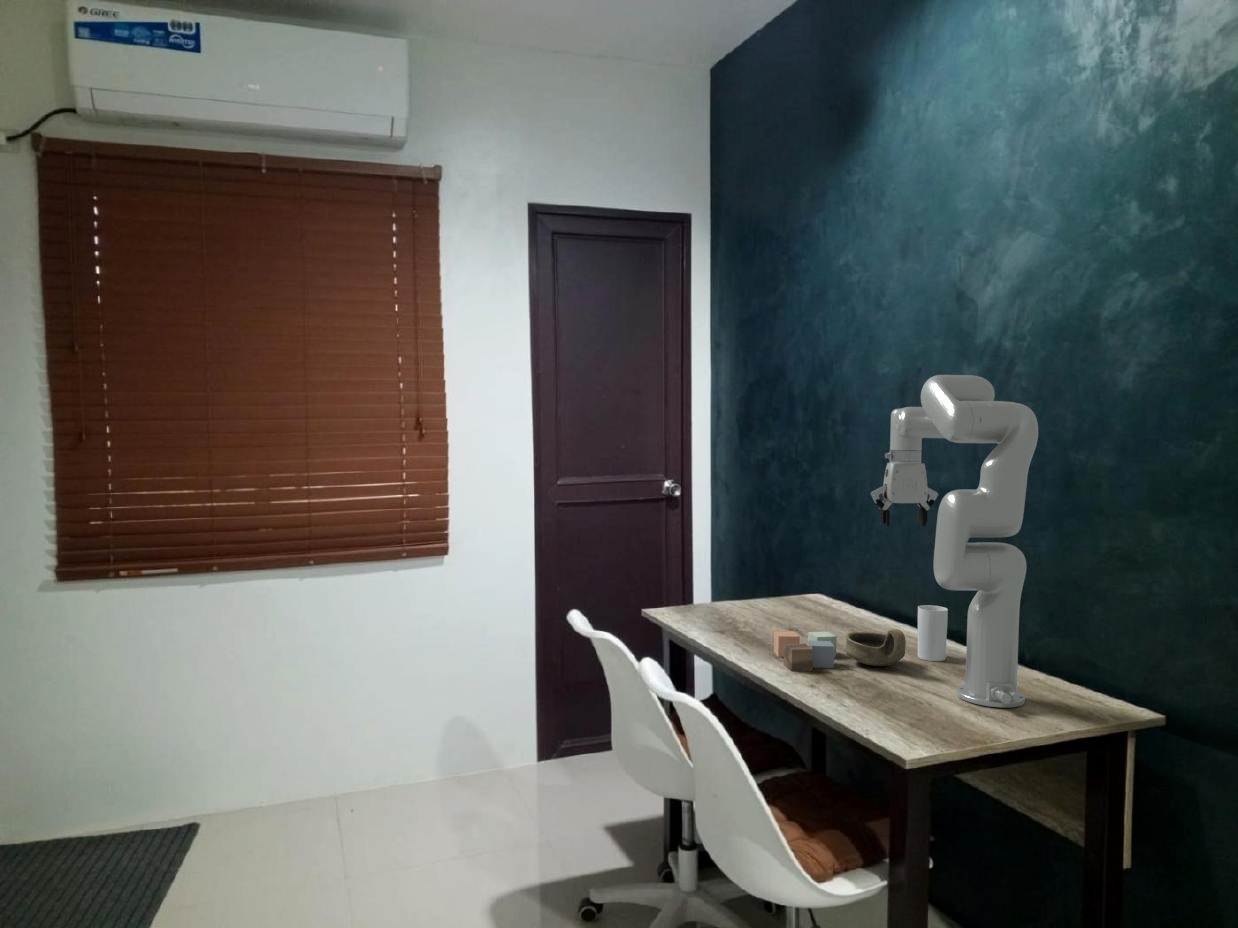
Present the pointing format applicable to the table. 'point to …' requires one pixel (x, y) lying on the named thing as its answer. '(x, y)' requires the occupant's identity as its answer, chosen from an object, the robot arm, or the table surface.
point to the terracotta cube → (784, 641)
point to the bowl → (876, 647)
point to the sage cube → (822, 638)
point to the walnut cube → (798, 657)
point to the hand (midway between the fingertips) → (903, 525)
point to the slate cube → (822, 654)
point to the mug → (932, 632)
